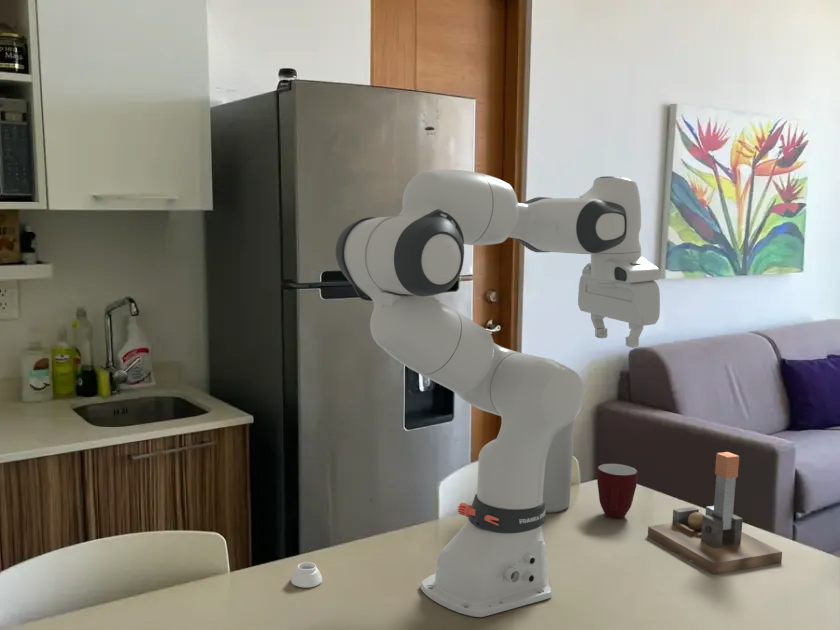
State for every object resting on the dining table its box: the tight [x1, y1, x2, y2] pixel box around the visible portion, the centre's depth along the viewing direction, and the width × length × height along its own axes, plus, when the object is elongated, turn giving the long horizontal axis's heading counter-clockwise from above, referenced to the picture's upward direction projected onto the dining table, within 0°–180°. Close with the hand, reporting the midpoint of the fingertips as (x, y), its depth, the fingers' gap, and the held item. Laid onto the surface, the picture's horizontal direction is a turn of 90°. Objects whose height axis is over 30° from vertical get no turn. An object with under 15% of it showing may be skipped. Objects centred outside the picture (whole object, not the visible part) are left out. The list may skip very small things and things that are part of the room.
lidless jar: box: [290, 561, 323, 589], centre depth 134 cm, size 5×3×5 cm
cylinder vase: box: [543, 418, 576, 514], centre depth 173 cm, size 12×12×25 cm
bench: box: [647, 506, 783, 575], centre depth 153 cm, size 16×18×7 cm
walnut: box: [688, 512, 704, 531], centre depth 157 cm, size 4×4×4 cm
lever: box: [704, 451, 740, 530], centre depth 151 cm, size 3×5×14 cm, turn 23°
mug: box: [596, 463, 638, 520], centre depth 167 cm, size 11×8×10 cm
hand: (616, 342), depth 148 cm, fingers open, 8 cm apart
